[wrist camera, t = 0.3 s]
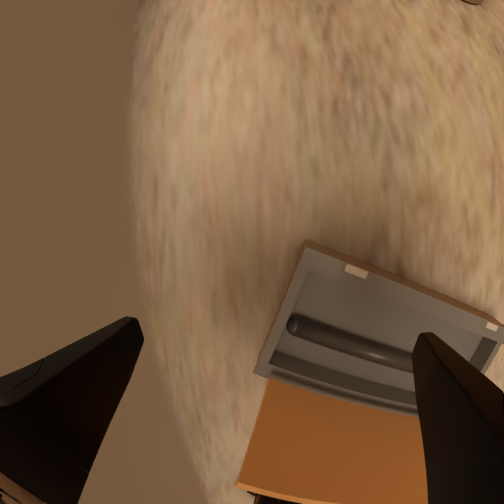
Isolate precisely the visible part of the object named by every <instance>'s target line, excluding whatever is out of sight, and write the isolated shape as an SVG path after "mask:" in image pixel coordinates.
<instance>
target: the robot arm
mask: <svg viewBox="0 0 504 504" xmlns="http://www.w3.org/2000/svg"><path fill="white" fill-rule="evenodd" d="M143 342H144V336H143V333H142V330H141V327H140V325H139V321H138V320H137V318H135V317H128V316H126V317H123V318H121V319H119V320H117V321H115V322H113V323H111V324H109V325H107V326H106V327H104V328H102V329H100V330H98V331H96V332H94V333H92V334H90V335H88V336H86V337H84V338H82V339H80V340H78V341H76V342H74V343H72V344H70V345H68V346H66V347H64V348H62V349H60V350H58V351H56V352H54V353H52V354H50V355H48V356H46V357H45V358H42V359H40V360H38V361H36V362H34V363H32V364H30V365H28V366H26V367H24V368H21V369H19V370H16V371H14V372H12V373H9V374H7V375H4V376H2V377H0V504H78V501H79V499H80V496H81V493H82V490H83V488H84V485H85V483H86V480H87V478H88V475H89V472H90V470H91V467H92V465H93V462H94V460H95V458H96V455H97V453H98V450H99V448H100V446H101V443H102V441H103V438H104V436H105V434H106V432H107V429H108V427H109V425H110V422H111V420H112V418H113V416H114V414H115V411H116V409H117V407H118V405H119V403H120V400H121V398H122V396H123V394H124V392H125V390H126V387H127V385H128V383H129V381H130V378H131V376H132V373H133V371H134V368H135V364H136V362H137V359H138V356H139V354H140V351H141V348H142V345H143ZM412 366H413V375H414V386H415V397H416V404H417V410H418V416H419V421H420V428H421V434H422V441H423V449H424V457H425V467H426V478H427V493H428V504H504V394H503V391H502V390H501V389H500V388H499V387H497V386H496V385H495V384H494V383H493V382H492V381H491V380H489V379H488V378H487V377H486V376H485V375H484V374H482V373H481V372H480V371H479V370H478V369H477V368H475V367H474V366H473V365H472V364H471V363H470V362H468V361H467V360H466V359H465V358H464V357H462V356H461V355H460V354H459V353H458V352H456V351H455V350H454V349H453V348H452V347H450V346H449V345H448V344H447V343H445V342H444V341H443V340H442V339H440V338H439V337H438V336H437V335H435V334H434V333H433V332H421V333H420V334H419V336H418V338H417V341H416V343H415V346H414V349H413V352H412ZM247 492H248V493H250V494H252V495H254V496H255V500H254V504H302V503H297V502H292V501H287V500H282V499H278V498H274V497H269V496H265V495H261V494H258V493H254V492H251V491H247Z"/></svg>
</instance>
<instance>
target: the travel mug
mask: <svg viewBox="0 0 504 504" xmlns="http://www.w3.org/2000/svg"><path fill="white" fill-rule="evenodd" d="M465 1H467V2H470V3H474V4H480V3H482V2H483V1H484V0H465Z"/></svg>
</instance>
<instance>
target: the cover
mask: <svg viewBox="0 0 504 504" xmlns="http://www.w3.org/2000/svg"><path fill="white" fill-rule="evenodd" d="M235 487H237V488H240V489H244V490H247V491H251V492H254V493H258V494H261V495H265V496H269V497H274V498H278V499H282V500H287V501H292V502H297V503H303V504H428V493H427V478H426V467H425V457H424V449H423V441H422V434H421V428H420V421H419V416H418V413H414V412H409V411H404V410H399V409H394V408H389V407H385V406H380V405H376V404H372V403H368V402H364V401H360V400H356V399H352V398H348V397H345V396H341V395H337V394H334V393H330V392H327V391H324V390H320V389H317V388H314V387H311V386H307V385H304V384H301V383H298V382H295V381H292V380H289V379H286V378H283V377H280V376H277V375H275V374H272V373H271V374H270V376H269V378H268V381H267V385H266V388H265V392H264V395H263V399H262V402H261V406H260V409H259V413H258V416H257V419H256V423H255V426H254V429H253V432H252V436H251V439H250V442H249V445H248V448H247V452H246V455H245V458H244V461H243V464H242V467H241V470H240V473H239V476H238V479H237V482H236V485H235Z"/></svg>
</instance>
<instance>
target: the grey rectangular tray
mask: <svg viewBox="0 0 504 504" xmlns="http://www.w3.org/2000/svg"><path fill="white" fill-rule="evenodd" d="M421 332H433V333H434V334H435V335H437V336H438V337H439V338H440V339H442V340H443V341H444V342H445V343H447V344H448V345H449V346H450V347H452V348H453V349H454V350H455V351H456V352H458V353H459V354H460V355H461V356H462V357H464V358H465V359H466V360H467V361H468V362H470V363H471V364H472V365H473V366H474V367H475V368H477V369H478V370H479V371H480V372H481V373H482V374H485V372H486V371H487V369H488V367H489V366H490V364H491V362H492V361H493V359H494V357H495V355H496V354H497V352H498V350H499V348H500V346H501V344H504V325H503V324H502V323H500V322H499V321H498V320H496V319H495V318H493V317H492V316H490V315H488V314H485V313H483V312H481V311H479V310H477V309H474V308H472V307H470V306H468V305H465V304H463V303H461V302H459V301H456V300H454V299H452V298H449V297H447V296H445V295H442V294H440V293H438V292H435V291H433V290H431V289H428V288H426V287H424V286H421V285H419V284H417V283H414V282H412V281H409V280H407V279H405V278H402V277H400V276H397V275H395V274H392V273H390V272H388V271H385V270H383V269H380V268H378V267H375V266H373V265H370V264H368V263H365V262H363V261H360V260H358V259H355V258H353V257H350V256H347V255H345V254H342V253H340V252H337V251H335V250H332V249H329V248H327V247H324V246H322V245H319V244H316V243H314V242H311V241H309V240H306V239H305V242H304V245H303V247H302V250H301V253H300V255H299V258H298V260H297V263H296V266H295V268H294V271H293V273H292V276H291V278H290V281H289V284H288V286H287V289H286V291H285V294H284V296H283V299H282V301H281V303H280V306H279V308H278V311H277V313H276V316H275V318H274V321H273V323H272V325H271V328H270V330H269V332H268V335H267V337H266V340H265V342H264V344H263V347H262V349H261V351H260V354H259V357H258V360H257V363H256V366H255V369H254V372H253V373H255V374H258V375H260V376H263V377H266V378H269V376H270V374H271V373H272V374H275V375H277V376H280V377H283V378H286V379H289V380H292V381H295V382H298V383H301V384H304V385H307V386H311V387H314V388H317V389H320V390H324V391H327V392H330V393H334V394H337V395H341V396H345V397H348V398H352V399H356V400H360V401H364V402H368V403H372V404H376V405H380V406H385V407H389V408H394V409H399V410H404V411H409V412H414V413H418V410H417V404H416V397H415V386H414V375H413V366H412V352H413V349H414V346H415V343H416V341H417V338H418V336H419V334H420V333H421Z"/></svg>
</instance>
